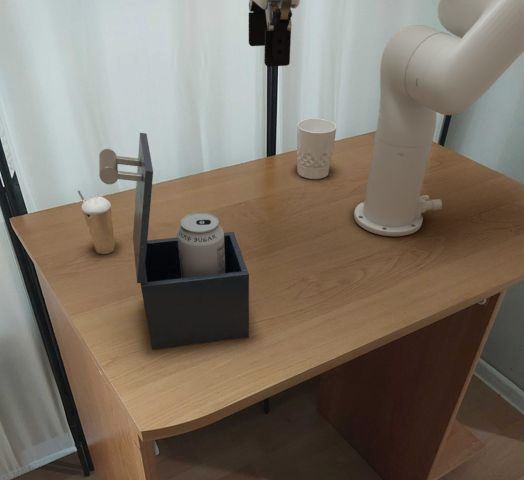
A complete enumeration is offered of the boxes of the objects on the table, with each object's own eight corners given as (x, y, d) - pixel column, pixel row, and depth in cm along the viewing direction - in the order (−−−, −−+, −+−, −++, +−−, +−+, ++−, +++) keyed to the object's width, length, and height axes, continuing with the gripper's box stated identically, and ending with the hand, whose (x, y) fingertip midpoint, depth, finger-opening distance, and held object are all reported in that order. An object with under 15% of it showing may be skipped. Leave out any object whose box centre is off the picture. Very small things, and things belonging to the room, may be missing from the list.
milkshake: (99, 238, 94) (87, 184, 87) (124, 246, 92) (114, 192, 85) (82, 251, 91) (68, 196, 84) (107, 259, 89) (95, 204, 82)
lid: (146, 133, 64) (99, 127, 62) (153, 171, 56) (99, 165, 55) (138, 238, 73) (97, 235, 71) (143, 283, 66) (97, 281, 64)
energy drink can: (185, 301, 80) (176, 210, 70) (226, 300, 80) (223, 209, 70) (184, 328, 75) (174, 234, 65) (227, 326, 76) (224, 233, 66)
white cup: (329, 182, 111) (334, 134, 105) (291, 178, 112) (294, 130, 106) (333, 166, 117) (338, 120, 110) (297, 163, 118) (300, 116, 111)
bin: (235, 292, 83) (233, 231, 76) (248, 337, 76) (249, 273, 68) (146, 303, 81) (136, 241, 73) (151, 350, 73) (140, 286, 66)
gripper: (326, -109, 55) (313, 72, 66) (284, -117, 67) (279, 37, 79) (255, -109, 53) (254, 76, 65) (225, -118, 66) (229, 39, 77)
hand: (268, 54), depth 72 cm, fingers open, 9 cm apart
